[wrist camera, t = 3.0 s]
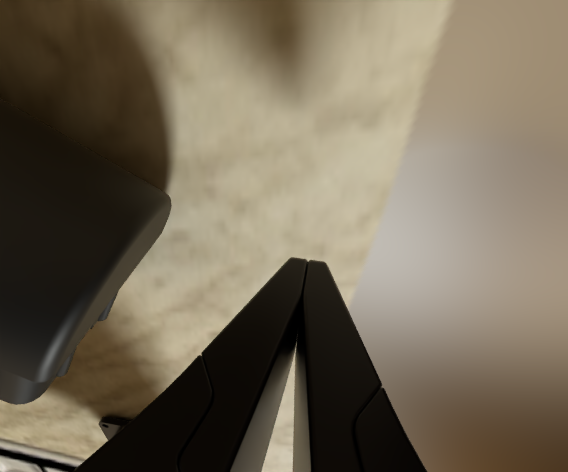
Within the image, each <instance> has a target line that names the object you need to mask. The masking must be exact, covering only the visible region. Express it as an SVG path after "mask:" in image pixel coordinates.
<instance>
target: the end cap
mask: <svg viewBox="0 0 568 472" xmlns="http://www.w3.org/2000/svg"><path fill="white" fill-rule="evenodd" d="M170 211H171V199H170V197H169V195H168V194H166V193H165V192H163V191H161V190H159V189H158V188H156V187H154V186H152V185H151V184H149V183H147V182H145V181H144V180H142V179H140V178H138V177H137V176H135V175H133V174H131V173H130V172H128V171H126V170H124V169H123V168H121V167H119V166H117V165H116V164H114V163H112V162H110V161H109V160H107V159H105V158H103V157H102V156H100V155H98V154H96V153H95V152H93V151H91V150H89V149H88V148H86V147H84V146H82V145H81V144H79V143H77V142H75V141H74V140H72V139H70V138H68V137H67V136H65V135H63V134H61V133H60V132H58V131H56V130H54V129H53V128H51V127H49V126H47V125H46V124H44V123H42V122H40V121H39V120H37V119H35V118H33V117H32V116H30V115H28V114H26V113H25V112H23V111H21V110H19V109H18V108H16V107H14V106H12V105H11V104H9V103H7V102H5V101H4V100H2V99H0V400H3V401H5V402H8V403H11V404H16V405H17V404H26V403H29V402H32V401H34V400H35V399H37V398H39V397H40V396H41V395H42V394H43V393H44V392H45V391H46V390H47V388H48V387H49V386H50V384H51V383H52V382H53V380H54V379H55V378H56V377H61V376H64V375H65V374H66V373H67V372H68V369H69V366H70V363H71V361H72V358H73V355H74V352H75V350H76V347H77V345H78V344H79V342H80V341H81V340H82V338H83V337H84V336H85V334H86V333H87V332H88V330H89V329H92V328H93V327H94V325H95V324H96V323H97V321H103V320H105V319H106V318H107V317H108V314H109V312H110V310H111V307H112V305H113V303H114V300H115V298H116V296H117V293H118V291H119V289H120V288H121V286H122V285H123V284H124V282H125V281H126V280H127V278H128V277H129V276H130V274H131V273H132V272H133V270H134V269H135V268H136V266H137V265H138V264H139V262H140V261H141V260H142V258H143V257H144V256H145V254H146V253H147V252H148V250H149V249H150V248H151V247H152V245H153V244H154V243H155V241H156V240H157V239H158V237H159V236H160V235H161V233H162V231H163V229H164V227H165V224H166V222H167V220H168V217H169V214H170Z"/></svg>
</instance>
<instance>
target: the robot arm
mask: <svg viewBox="0 0 568 472" xmlns="http://www.w3.org/2000/svg"><path fill="white" fill-rule="evenodd" d="M296 342H297V345H296ZM295 348H296V356H295V395H294V440H293V472H427V470H426V469H425V467H424V466H423V463H422V462H421V460H420V458H419V456H418V454H417V453H416V451H415V449H414V447H413V446H412V444H411V442H410V440H409V438H408V437H407V435H406V433H405V431H404V429H403V427H402V425H401V423H400V421H399V419H398V417H397V415H396V413H395V411H394V409H393V407H392V404H391V402H390V400H389V398H388V396H387V394H386V391H385V389H384V388H381V387H382V383H381V381H380V379H379V376H378V374H377V372H376V370H375V368H374V366H373V363H372V361H371V359H370V357H369V355H368V353H367V350H366V348H365V346H364V344H363V342H362V340H361V337H360V335H359V333H358V331H357V329H356V326H355V324H354V322H353V320H352V318H351V316H350V313H349V311H348V309H347V307H346V305H345V303H344V300H343V298H342V296H341V294H340V292H339V289H338V287H337V285H336V283H335V281H334V279H333V276H332V274H331V272H330V270H329V268H328V266H327V264H326V263H325V262H322V261H315V260H310V261H307V260H306V259H301V258H294V257H291V258H290V259H289V260H288V261H287V262H286V263H285V264H284V265H283V266H282V267H281V268H280V269H279V270H278V271H277V272H276V273H275V274H274V276H273V277H272V278H271V279H270V280H269V281H268V282H267V283H266V284H265V285H264V286H263V287H262V288H261V289H260V291H259V292H258V293H257V294H256V295H255V296H254V297H253V298H252V299H251V300H250V301H249V302H248V303H247V304H246V306H245V307H244V308H243V309H242V310H241V311H240V312H239V313H238V314H237V315H236V316H235V317H234V318H233V319H232V321H231V322H230V323H229V324H228V325H227V326H226V327H225V328H224V329H223V330H222V331H221V332H220V333H219V335H218V336H217V337H216V338H215V339H214V340H213V341H212V342H211V343H210V344H209V345H208V346H207V347H206V348H205V350H204V351H203V352H202V356H201V355H199V356H198V357H197V358H196V359H195V360H194V361H193V362H192V363H191V364H190V365H189V366H188V368H187V369H186V370H185V371H184V372H183V373H182V374H181V375H180V376H179V377H178V378H177V379H176V380H175V381H174V382H173V383H172V384H171V385H170V386H169V387H168V388H167V389H166V390H165V391H164V392H163V393H162V394H160V395H159V396H158V397H157V398H156V399H155V400H154V401H153V402H152V403H151V404H149V405H148V406H147V407H146V408H145V409H144V410H143V411H142V412H141V413H140V414H138V415H137V416H136V417H135V418H134V419H133V420H131V421H125V420H120V419H115V418H110V417H102V418H101V420H100V422H99V426H100V427H101V429H102V431H103V433H104V434H105V436H106V438H107V439H108V441H107V442H106V443H105V444H104V445H103V446H102V447H100V448H99V449H98V450H97V451H96V452H95V453H93V454H92V455H91V456H90V457H89V458H88V459H87V460H85V461H84V462H83V463H82V464H81V465H80V466H78V467H77V468H76V469H75V470H74V471H73V472H261V471H262V467H263V463H264V460H265V456H266V453H267V449H268V446H269V442H270V439H271V435H272V432H273V428H274V424H275V421H276V417H277V414H278V410H279V407H280V403H281V400H282V396H283V393H284V389H285V386H286V382H287V378H288V375H289V371H290V368H291V364H292V361H293V357H294V353H295Z"/></svg>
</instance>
